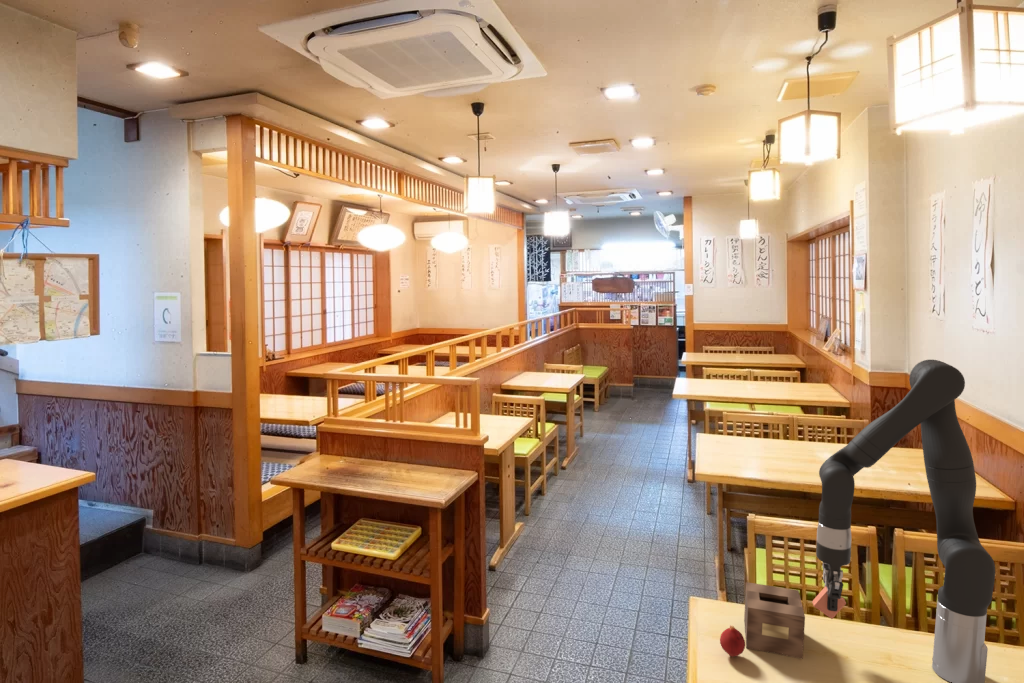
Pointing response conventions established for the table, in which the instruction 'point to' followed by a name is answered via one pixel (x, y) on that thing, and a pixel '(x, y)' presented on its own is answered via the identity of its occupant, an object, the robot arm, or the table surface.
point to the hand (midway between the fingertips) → (831, 607)
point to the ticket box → (774, 620)
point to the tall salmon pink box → (821, 603)
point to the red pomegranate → (732, 641)
